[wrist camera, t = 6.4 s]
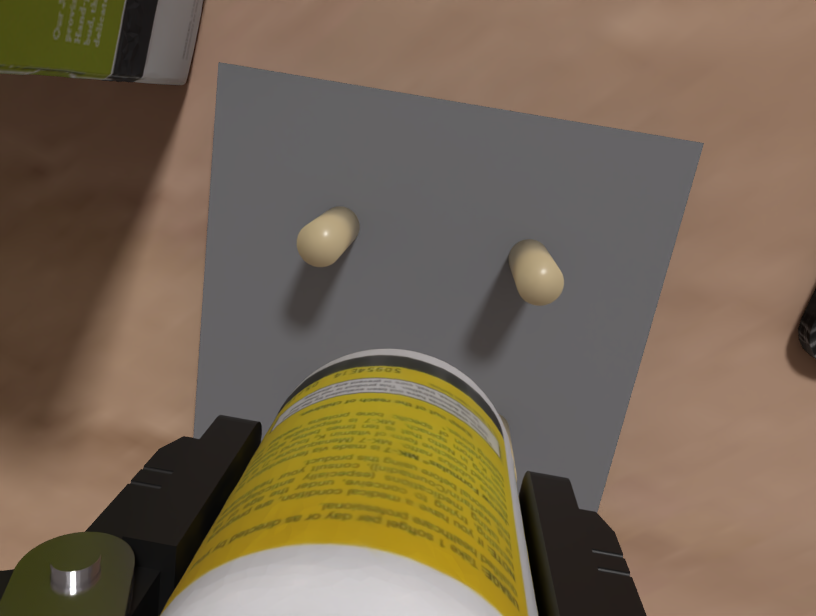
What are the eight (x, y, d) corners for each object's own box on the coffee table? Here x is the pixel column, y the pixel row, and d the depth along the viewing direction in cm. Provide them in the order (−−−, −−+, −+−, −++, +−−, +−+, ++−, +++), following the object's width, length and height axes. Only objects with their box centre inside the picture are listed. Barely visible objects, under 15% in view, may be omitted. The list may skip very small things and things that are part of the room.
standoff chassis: (680, 140, 20) (749, 147, 15) (574, 520, 24) (603, 620, 19) (241, 67, 20) (173, 51, 15) (211, 453, 24) (150, 534, 20)
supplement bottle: (241, 376, 13) (-142, 840, 4) (474, 314, 12) (513, 733, 4) (320, 575, 14) (131, 1218, 6) (535, 530, 13) (666, 1191, 5)
